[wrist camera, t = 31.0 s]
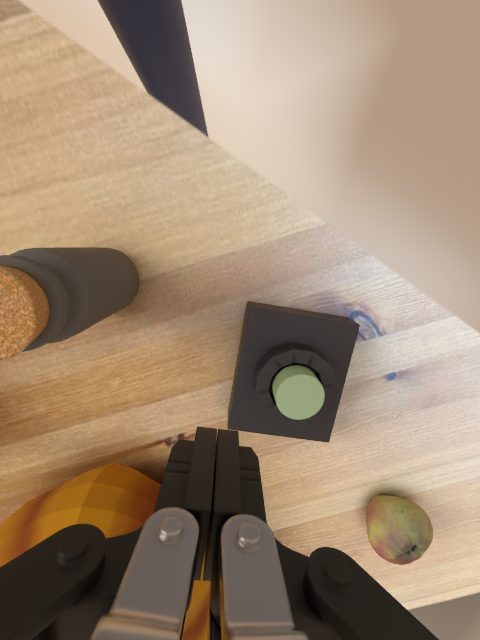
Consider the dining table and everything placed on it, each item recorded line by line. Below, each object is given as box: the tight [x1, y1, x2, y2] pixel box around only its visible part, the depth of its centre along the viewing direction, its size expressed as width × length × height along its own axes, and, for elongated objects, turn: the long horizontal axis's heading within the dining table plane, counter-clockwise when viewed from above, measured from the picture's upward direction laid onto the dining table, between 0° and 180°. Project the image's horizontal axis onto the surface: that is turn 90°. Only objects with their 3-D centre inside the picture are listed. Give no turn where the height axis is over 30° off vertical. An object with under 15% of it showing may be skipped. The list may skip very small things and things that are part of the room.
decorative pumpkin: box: [0, 462, 211, 640], centre depth 28 cm, size 20×22×15 cm
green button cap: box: [272, 365, 325, 420], centre depth 26 cm, size 4×4×2 cm
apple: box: [366, 495, 433, 565], centre depth 33 cm, size 6×8×6 cm
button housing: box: [228, 301, 360, 442], centre depth 29 cm, size 12×10×5 cm
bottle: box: [0, 248, 139, 360], centre depth 22 cm, size 6×6×15 cm
